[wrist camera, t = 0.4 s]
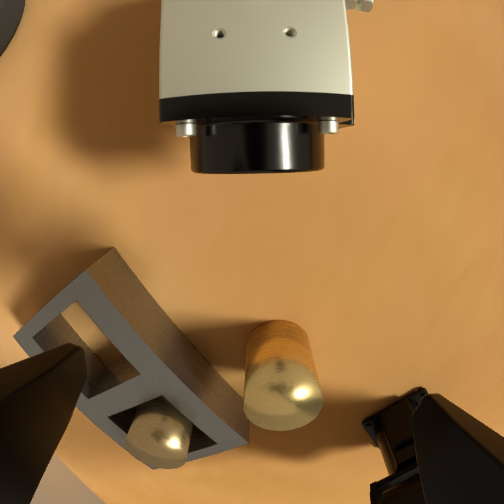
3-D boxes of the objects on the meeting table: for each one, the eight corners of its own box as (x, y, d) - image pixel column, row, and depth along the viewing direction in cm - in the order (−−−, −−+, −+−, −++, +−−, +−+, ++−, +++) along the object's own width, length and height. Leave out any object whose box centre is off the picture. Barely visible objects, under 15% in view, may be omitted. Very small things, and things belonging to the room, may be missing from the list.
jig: (249, 405, 23) (248, 443, 20) (161, 437, 25) (152, 469, 21) (114, 246, 19) (85, 269, 16) (39, 311, 21) (12, 336, 17)
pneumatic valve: (215, 162, 18) (146, 187, 6) (213, -14, 14) (172, -145, 3) (312, 160, 18) (406, 184, 6) (303, -15, 14) (347, -145, 2)
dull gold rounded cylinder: (208, 404, 23) (199, 462, 18) (169, 419, 24) (155, 472, 19) (173, 369, 22) (154, 427, 17) (135, 387, 23) (113, 440, 17)
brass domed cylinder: (319, 352, 22) (335, 411, 16) (267, 378, 23) (270, 439, 17) (288, 308, 21) (299, 365, 15) (233, 339, 21) (227, 399, 16)
